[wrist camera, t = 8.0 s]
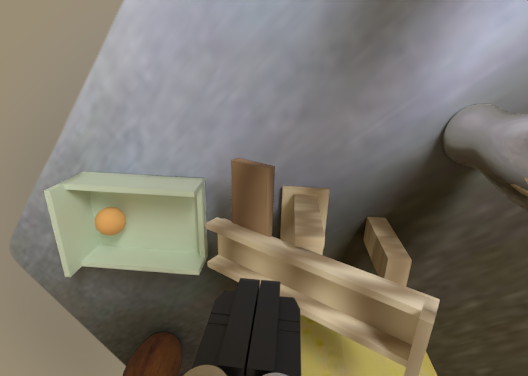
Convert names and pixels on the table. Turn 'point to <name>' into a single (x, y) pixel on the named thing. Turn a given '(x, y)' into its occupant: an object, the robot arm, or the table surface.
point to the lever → (319, 276)
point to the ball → (110, 221)
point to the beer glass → (492, 147)
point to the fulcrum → (314, 222)
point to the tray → (131, 222)
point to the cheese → (345, 355)
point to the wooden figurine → (156, 357)
